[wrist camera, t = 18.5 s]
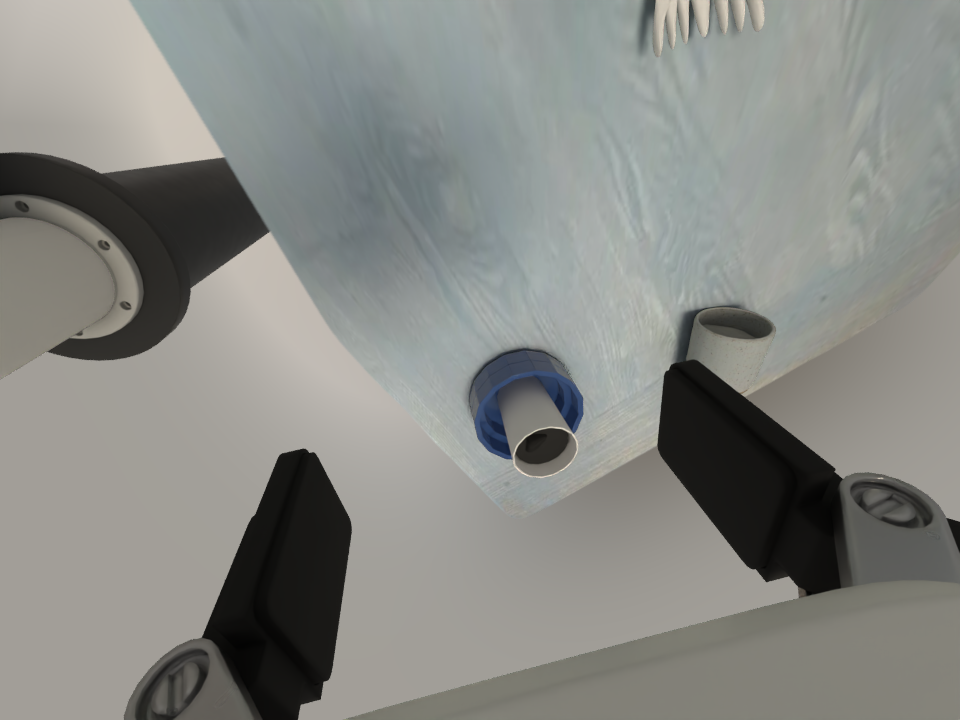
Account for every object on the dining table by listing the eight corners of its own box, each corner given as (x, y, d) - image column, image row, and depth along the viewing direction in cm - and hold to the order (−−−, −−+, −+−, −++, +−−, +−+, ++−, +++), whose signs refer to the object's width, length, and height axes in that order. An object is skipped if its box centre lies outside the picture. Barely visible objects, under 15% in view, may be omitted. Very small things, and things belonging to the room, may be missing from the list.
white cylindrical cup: (491, 418, 48) (509, 480, 40) (495, 372, 45) (515, 428, 36) (543, 415, 49) (572, 475, 41) (551, 370, 46) (584, 424, 37)
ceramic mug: (670, 371, 50) (711, 408, 43) (680, 312, 45) (727, 342, 39) (746, 356, 51) (798, 390, 44) (763, 297, 46) (823, 324, 40)
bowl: (449, 408, 47) (453, 436, 43) (510, 330, 43) (521, 351, 39) (526, 445, 52) (536, 472, 48) (587, 377, 48) (605, 401, 44)
